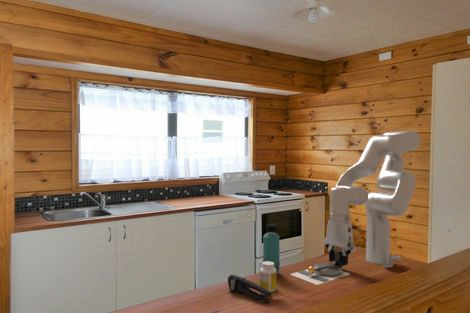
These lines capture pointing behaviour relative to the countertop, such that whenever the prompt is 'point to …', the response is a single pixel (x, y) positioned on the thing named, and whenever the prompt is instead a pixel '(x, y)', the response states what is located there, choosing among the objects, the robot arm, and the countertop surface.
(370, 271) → the countertop surface
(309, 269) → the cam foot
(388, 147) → the robot arm
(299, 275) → the stand
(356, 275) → the countertop surface
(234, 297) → the countertop surface
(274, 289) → the supplement bottle
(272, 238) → the beverage bottle
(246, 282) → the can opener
